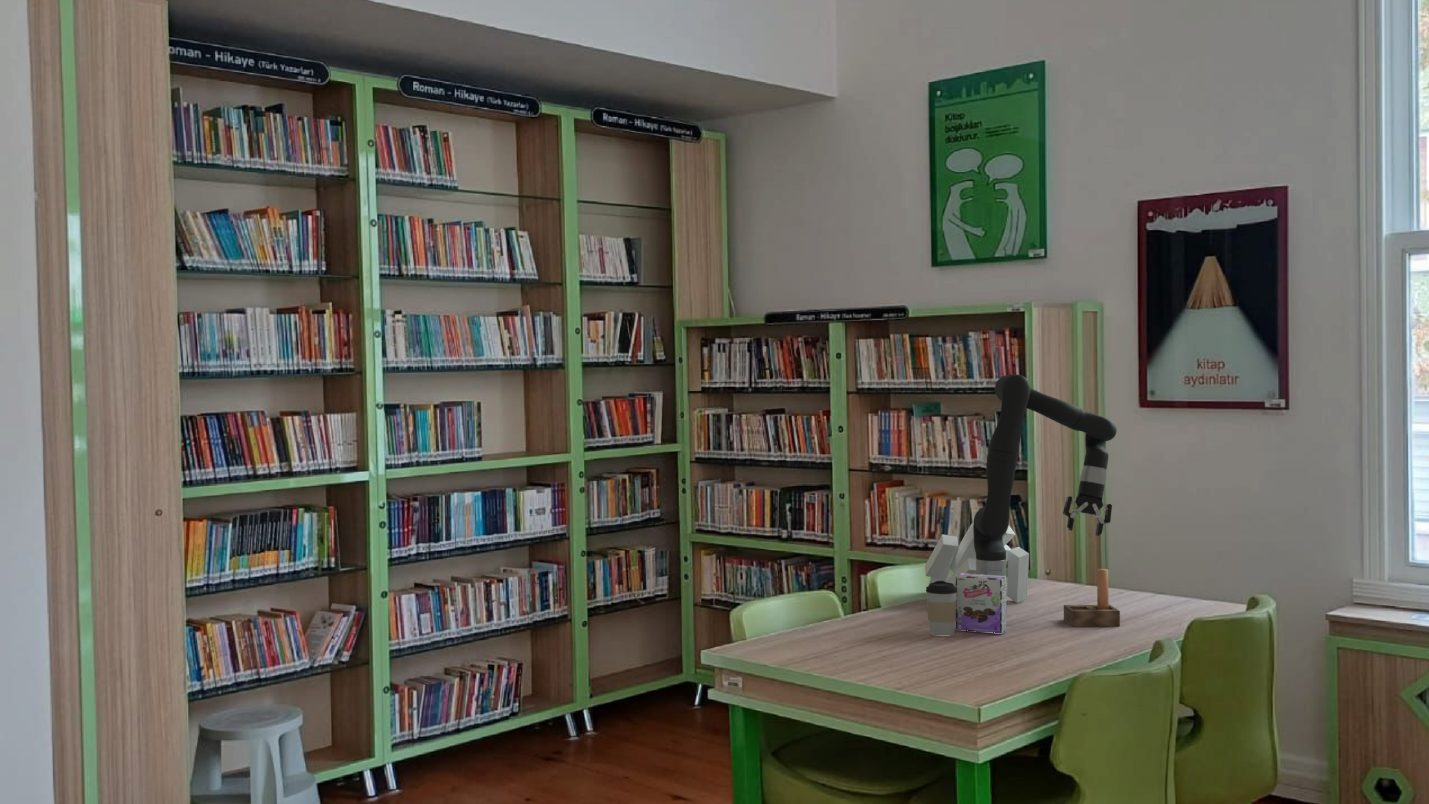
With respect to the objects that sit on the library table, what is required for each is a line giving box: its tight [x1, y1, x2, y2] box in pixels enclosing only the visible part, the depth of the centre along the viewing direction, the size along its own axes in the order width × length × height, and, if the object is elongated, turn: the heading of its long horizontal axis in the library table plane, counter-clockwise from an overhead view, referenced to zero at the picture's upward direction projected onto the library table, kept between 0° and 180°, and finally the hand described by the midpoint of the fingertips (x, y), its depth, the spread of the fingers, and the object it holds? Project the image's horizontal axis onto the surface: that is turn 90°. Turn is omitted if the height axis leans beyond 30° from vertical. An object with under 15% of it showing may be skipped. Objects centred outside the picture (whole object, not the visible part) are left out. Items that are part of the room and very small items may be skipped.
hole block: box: [1063, 604, 1121, 627], centre depth 376 cm, size 14×10×4 cm
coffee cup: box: [925, 581, 958, 636], centre depth 363 cm, size 9×9×15 cm
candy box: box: [955, 573, 1007, 634], centre depth 366 cm, size 14×6×16 cm, turn 62°
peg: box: [1096, 568, 1110, 609], centre depth 376 cm, size 3×3×16 cm
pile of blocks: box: [924, 523, 1030, 604], centre depth 412 cm, size 35×30×35 cm
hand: (1083, 533), depth 391 cm, fingers open, 8 cm apart
